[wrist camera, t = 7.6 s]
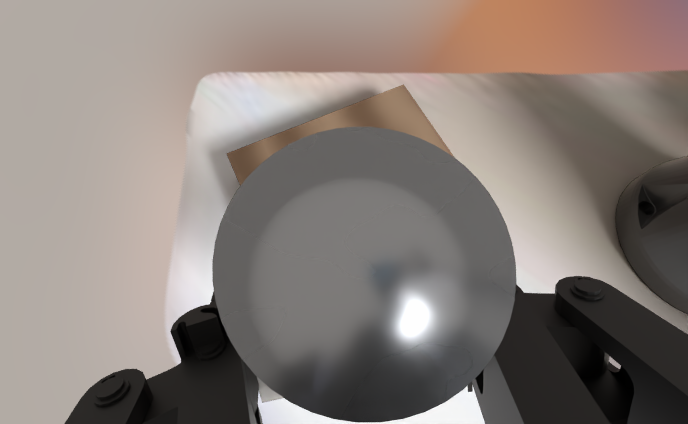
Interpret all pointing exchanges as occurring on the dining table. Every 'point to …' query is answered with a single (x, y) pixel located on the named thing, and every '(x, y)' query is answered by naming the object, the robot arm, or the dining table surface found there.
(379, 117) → the tool block
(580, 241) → the dining table surface
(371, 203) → the metal peg
